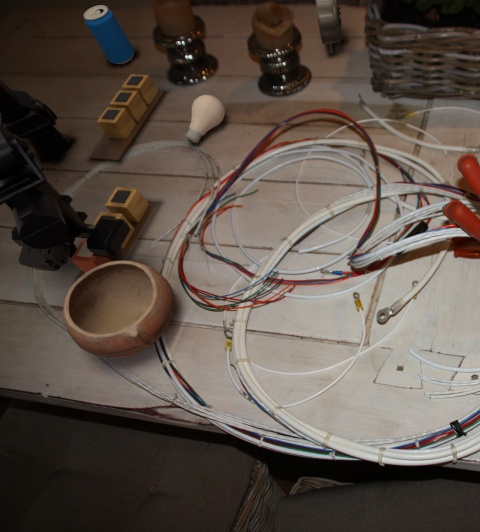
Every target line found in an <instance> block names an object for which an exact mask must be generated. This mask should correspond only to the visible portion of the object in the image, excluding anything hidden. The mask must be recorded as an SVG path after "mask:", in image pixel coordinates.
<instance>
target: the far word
mask: <svg viewBox="0 0 480 532" xmlns="http://www.w3.org/2000/svg"><path fill="white" fill-rule="evenodd" d="M121 89H122V90H120V89H119V90H118V92H117V93H116V94H115V95H114V97H113V98H112V99H111V101H110V102H109V105H110V107H109V106H107V107H106V108H104V109H105V110H104V111H103V112H102V114H101V115H100V117H98V119H97V121H96V123H97V124H98V126H99V128H101V130H102V131H103V132H104V134H105V135H104V136H103V137H102V138H101V140H100V142H98V145H97V146H96V148H95V149H94V151H92V154H91V155H90V156H89V159H90V160H91V161H102V162H103V161H105V162H117V163H121V161H122V160H123V158H124V157H125V155H126V153H127V152H128V150H129V149H130V147H131V146H132V144H133V143H134V141H135V139H136V138H137V136H138V135H139V134H140V132H141V130H142V129H143V128H144V126H145V124H146V123H147V121H148V120H149V118H150V117H151V115H152V114H153V112H154V111H155V109H156V108H157V106H158V104H159V103H160V101H161V100H162V98H163V97H164V96H165V94H166V91H165V90H163V89H162V90H161V89H157V87H156V85H155V84H154V82H153V80H152V77H151V76H150V75H149V74H137V73H136V74H135V73H134V74H133V73H131V74H130V75H129V77H128V78H127V79H126V81H124V83H123V84H122V86H121Z"/></svg>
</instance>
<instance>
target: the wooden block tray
mask: <svg viewBox="0 0 480 532" xmlns="http://www.w3.org/2000/svg"><path fill="white" fill-rule="evenodd" d="M157 204H158V202H157V201H148V200H147V199H146V198H145V197H144V196H143V194H142V193H141V191H140V190H139V189H138V188H133V187H132V188H131V187H121V186H116V187H115V189H114V190H113V192H112V194H111V195H110V196H109V198H108V200H107V201H106V203H105V204H104V206H105V207H106V209H107V210H108V211H109V212H106V211H100V212H99V214H98V215H97V217H96V219H94V222H93V223H92V224H93V225H96V224H97V223H98V221H99V220H100V218H114V219H124V220H125V222H126V223H127V224H128V225H129V226H130V228H131V230H130V232H129V234H128V235H127V237H126V239H125V240H124V242H123V244H122V254H123V261H124V260H125V259H126V258H127V256H128V254H129V252H130V251H131V249H132V247H133V246H134V244H135V242H136V240H137V238H138V237H139V235H140V233H141V232H142V230H143V228H144V227H145V225H146V223H147V221H148V220H149V218H150V216H151V214H152V212H153V211H154V209H155V207H156V205H157ZM80 270H81V269H80ZM83 274H85V273H84V272H83V271H82V270H81V271H80V272H79V274H78V276H77V277H78V278H80V277H81V276H82V275H83Z"/></svg>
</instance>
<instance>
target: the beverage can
mask: <svg viewBox="0 0 480 532" xmlns="http://www.w3.org/2000/svg"><path fill="white" fill-rule="evenodd" d="M83 18H84V22H85V25H86V27H87V28H88V30H89V32H90V33H91V34H92V36H93V38H94V40H95V41H96V42H97V44H98V45H99V47H100V48H101V50H102V52H103V53H104V55H105V57H106V58H107V60H108V61H109V62H110V63H111V64H116V65H123V64H126V63H128V62H130V61H131V60H132V59H133V58H134V55H135V53H136V51H135V49H134V47H133V45H132V43H131V41H130V40H129V38H128V36H127V35H126V33H125V31H124V29H123V28H122V26H121V24H120V23H119V21H118V19H117V18H116V16H115V14H114V12H113V11H112V10H111V9H110V8H109V7H108V6H106V5H103V4H101V5H95V6H92V7H90V8H88V9H87V10H86V11H84V12H83Z"/></svg>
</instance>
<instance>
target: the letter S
mask: <svg viewBox="0 0 480 532" xmlns="http://www.w3.org/2000/svg"><path fill="white" fill-rule="evenodd" d="M76 248H77V250H76V251H75V253H74V254H73V256H72V258H70V261H71V262H73V264H74V265H75V266H77V267H78V268H79V269H80V270H82V271H83V272H84V273H86V272H88V271H89V270H91V269H93V268H94V267H97V266H99V265H101V264H105V263H108V262H112V261H111V260H109V259H108V258H107V257H100V256H93V254H94V253H92V252H90V251H89V250H88V249H87V238H82V240H81V242H80V244H79V245H78V247H76Z"/></svg>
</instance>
